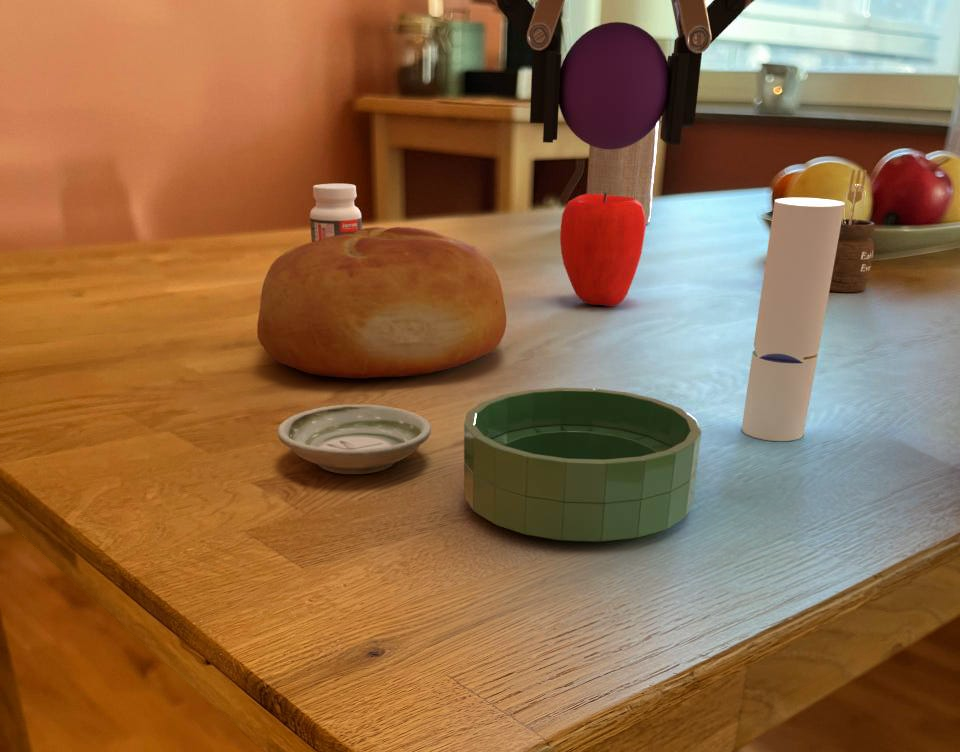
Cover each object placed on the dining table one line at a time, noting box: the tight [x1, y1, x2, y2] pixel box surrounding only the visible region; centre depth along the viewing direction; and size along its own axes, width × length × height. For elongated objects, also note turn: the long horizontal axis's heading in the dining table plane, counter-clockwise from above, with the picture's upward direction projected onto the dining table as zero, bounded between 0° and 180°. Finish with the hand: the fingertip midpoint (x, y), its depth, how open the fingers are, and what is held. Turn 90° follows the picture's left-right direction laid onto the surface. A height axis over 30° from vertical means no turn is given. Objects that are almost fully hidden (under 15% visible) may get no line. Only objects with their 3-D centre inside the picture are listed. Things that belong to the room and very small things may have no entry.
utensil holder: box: [829, 169, 875, 293], centre depth 113 cm, size 6×6×12 cm
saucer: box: [277, 403, 432, 475], centre depth 65 cm, size 10×10×2 cm
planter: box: [586, 120, 660, 226], centre depth 151 cm, size 10×10×23 cm
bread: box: [256, 226, 507, 379], centre depth 86 cm, size 23×23×10 cm
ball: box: [559, 21, 670, 149], centre depth 51 cm, size 6×6×6 cm
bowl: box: [463, 387, 702, 543], centre depth 59 cm, size 13×13×5 cm
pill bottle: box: [309, 183, 363, 242], centre depth 114 cm, size 6×6×10 cm
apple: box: [559, 193, 646, 307], centre depth 105 cm, size 9×9×11 cm
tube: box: [741, 197, 846, 442], centre depth 68 cm, size 4×4×15 cm
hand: (609, 137), depth 52 cm, fingers closed on ball, 5 cm apart
